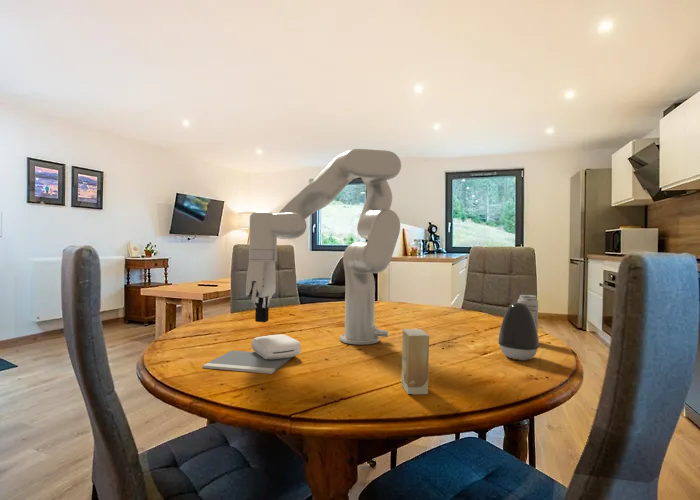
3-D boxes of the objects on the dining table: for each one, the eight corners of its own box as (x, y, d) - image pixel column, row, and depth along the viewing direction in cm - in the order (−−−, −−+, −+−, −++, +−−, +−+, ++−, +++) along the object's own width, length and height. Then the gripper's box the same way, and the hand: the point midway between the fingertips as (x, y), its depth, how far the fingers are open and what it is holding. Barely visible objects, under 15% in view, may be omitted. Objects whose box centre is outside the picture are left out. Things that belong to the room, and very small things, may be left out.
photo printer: (285, 332, 110) (304, 341, 100) (285, 347, 110) (304, 357, 100) (250, 336, 105) (266, 346, 94) (250, 352, 105) (266, 363, 94)
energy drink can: (538, 341, 123) (539, 295, 123) (536, 345, 118) (537, 297, 118) (518, 338, 127) (519, 294, 126) (515, 342, 121) (516, 295, 121)
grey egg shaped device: (544, 357, 105) (544, 302, 105) (531, 365, 97) (532, 306, 97) (506, 350, 112) (507, 299, 112) (492, 357, 104) (493, 302, 104)
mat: (292, 357, 102) (292, 354, 102) (271, 373, 88) (271, 371, 88) (231, 352, 106) (231, 350, 106) (202, 367, 92) (202, 365, 92)
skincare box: (400, 384, 83) (401, 328, 83) (420, 383, 83) (421, 328, 83) (407, 395, 76) (408, 334, 76) (429, 395, 77) (429, 334, 76)
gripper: (262, 255, 114) (261, 316, 114) (237, 256, 100) (236, 325, 100) (285, 256, 113) (284, 317, 113) (263, 256, 98) (262, 327, 98)
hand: (261, 321), depth 106 cm, fingers closed
